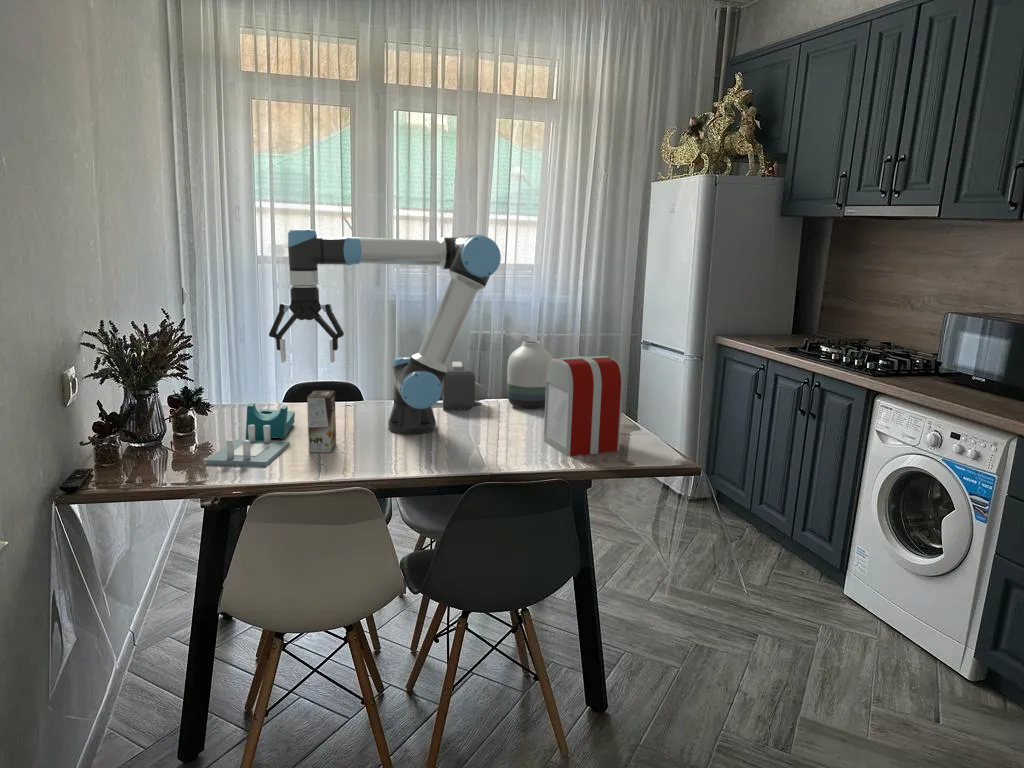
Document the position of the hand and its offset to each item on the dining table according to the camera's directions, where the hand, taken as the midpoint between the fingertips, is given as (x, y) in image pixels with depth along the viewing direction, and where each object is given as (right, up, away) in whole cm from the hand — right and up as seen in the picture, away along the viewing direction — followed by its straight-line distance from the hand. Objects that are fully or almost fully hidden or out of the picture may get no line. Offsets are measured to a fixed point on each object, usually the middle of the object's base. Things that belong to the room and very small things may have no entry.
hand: (308, 361), depth 198 cm
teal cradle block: (-17, -22, +17) cm, 32 cm away
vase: (+64, -15, +60) cm, 89 cm away
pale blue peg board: (-15, -26, -4) cm, 30 cm away
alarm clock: (+38, -14, +58) cm, 71 cm away
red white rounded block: (+78, -25, +12) cm, 83 cm away
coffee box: (+3, -25, +3) cm, 25 cm away
